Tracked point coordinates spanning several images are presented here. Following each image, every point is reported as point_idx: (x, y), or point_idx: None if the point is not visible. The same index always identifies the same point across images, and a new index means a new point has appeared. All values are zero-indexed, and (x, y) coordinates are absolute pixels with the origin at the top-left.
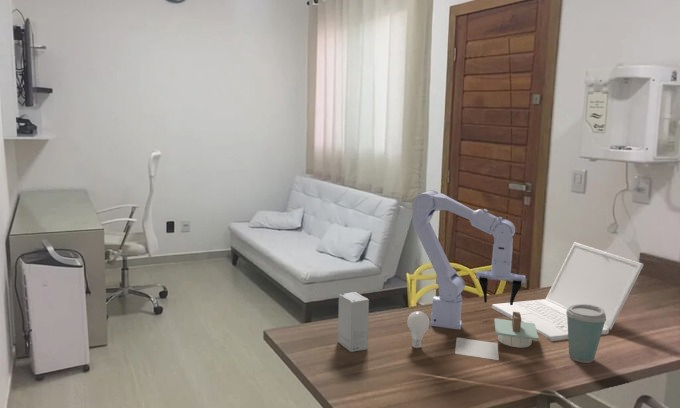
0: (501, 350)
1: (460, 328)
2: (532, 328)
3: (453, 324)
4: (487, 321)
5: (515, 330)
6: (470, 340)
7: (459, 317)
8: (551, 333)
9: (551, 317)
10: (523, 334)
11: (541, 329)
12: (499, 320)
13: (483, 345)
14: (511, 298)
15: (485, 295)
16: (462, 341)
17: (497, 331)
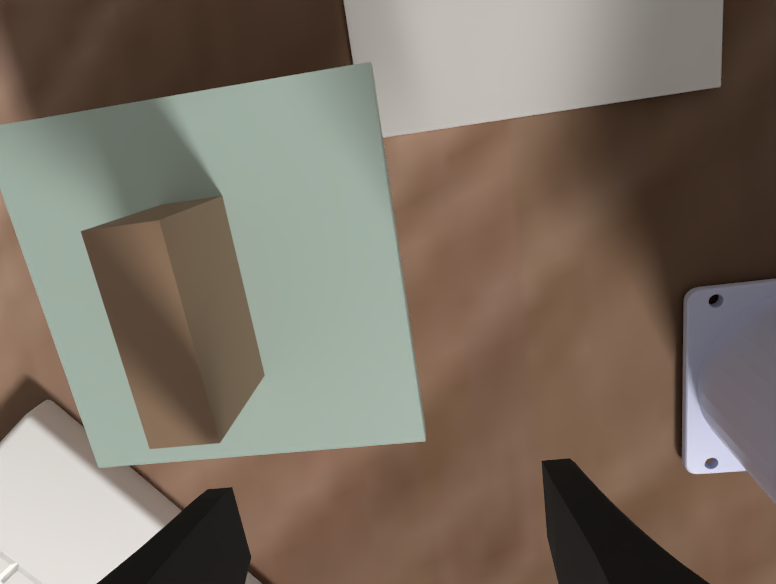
0: (320, 36)
1: (691, 305)
2: (86, 350)
3: (770, 313)
4: (488, 552)
5: (195, 201)
6: (591, 78)
7: (747, 386)
8: (38, 470)
9: None
10: (117, 156)
11: (111, 511)
12: (377, 408)
13: (471, 22)
14: (176, 543)
15: (597, 516)
16: (663, 15)
17: (355, 100)
